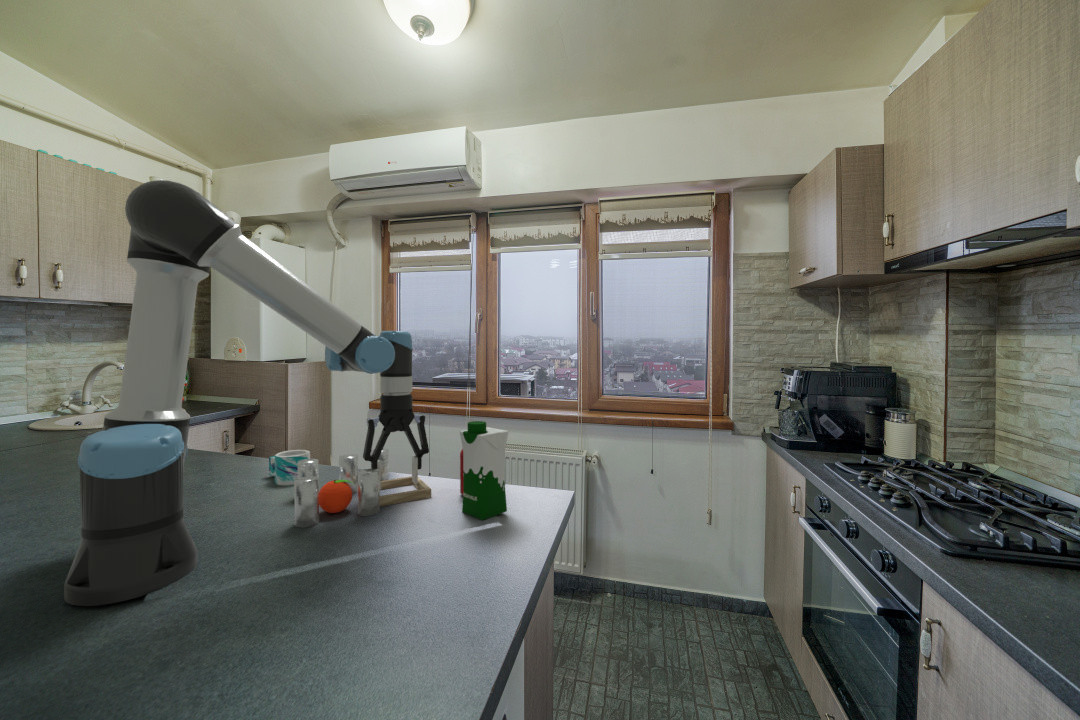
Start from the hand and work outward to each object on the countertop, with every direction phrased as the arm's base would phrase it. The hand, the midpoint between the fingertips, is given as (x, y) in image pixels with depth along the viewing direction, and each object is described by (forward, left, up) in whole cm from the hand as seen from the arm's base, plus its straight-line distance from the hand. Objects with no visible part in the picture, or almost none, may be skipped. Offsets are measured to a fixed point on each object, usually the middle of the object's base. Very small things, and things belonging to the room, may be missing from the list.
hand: (397, 485), depth 106 cm
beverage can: (-10, -16, -2) cm, 19 cm away
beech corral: (0, 0, -2) cm, 2 cm away
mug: (+25, +23, -3) cm, 34 cm away
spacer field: (0, +13, -2) cm, 13 cm away
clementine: (-5, +14, -2) cm, 15 cm away
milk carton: (-22, -14, -2) cm, 26 cm away
